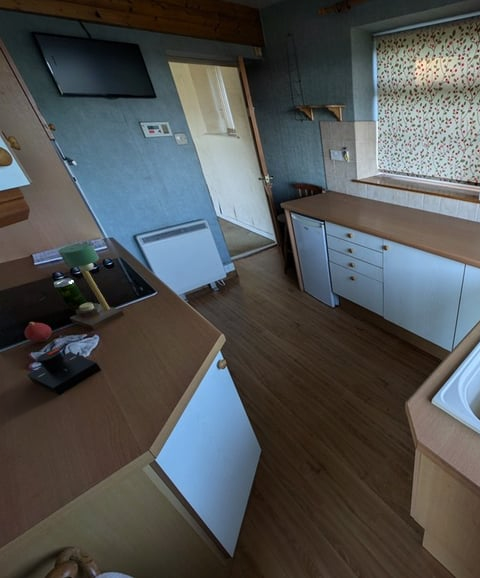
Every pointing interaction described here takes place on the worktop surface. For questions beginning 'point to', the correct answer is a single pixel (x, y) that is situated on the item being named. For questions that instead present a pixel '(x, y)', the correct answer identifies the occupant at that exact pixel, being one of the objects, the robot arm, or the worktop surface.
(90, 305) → the lamp switch
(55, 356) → the dimmer knob
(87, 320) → the lamp base
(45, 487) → the worktop surface
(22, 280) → the worktop surface
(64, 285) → the beer can
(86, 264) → the lamp
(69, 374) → the dimmer
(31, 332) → the onion
